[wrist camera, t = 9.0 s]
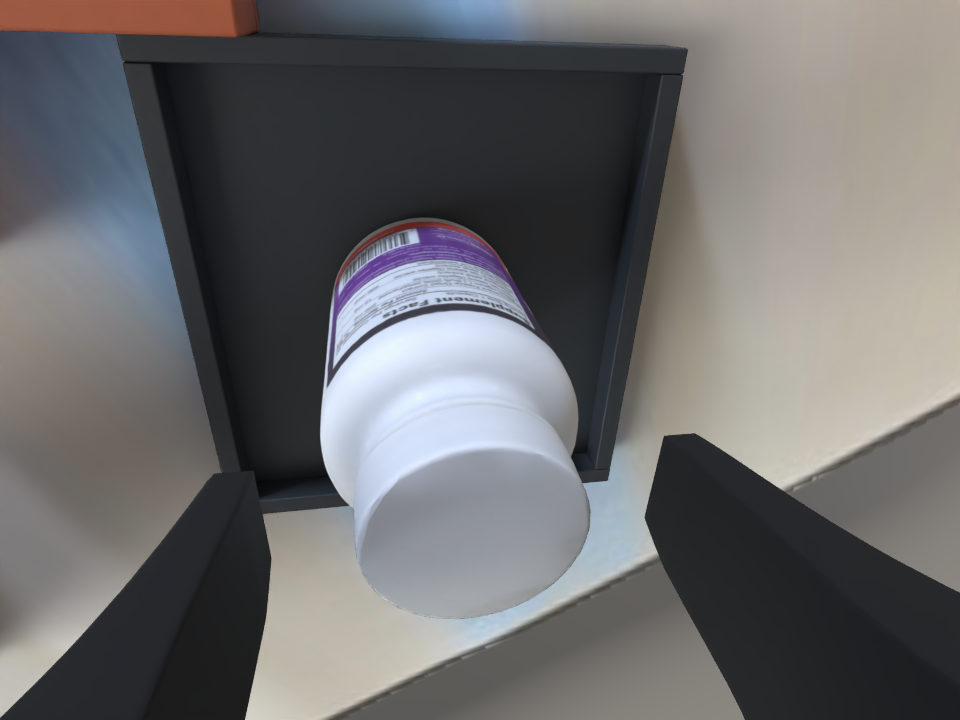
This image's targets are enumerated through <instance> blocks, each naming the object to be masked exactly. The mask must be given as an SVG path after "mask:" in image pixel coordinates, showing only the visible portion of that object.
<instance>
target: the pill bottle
mask: <svg viewBox="0 0 960 720" xmlns="http://www.w3.org/2000/svg"><path fill="white" fill-rule="evenodd" d="M577 429H578V406H577V400H576V395H575V392H574V389H573V386H572V383H571V380H570V378H569V376H568V374H567V372H566V370H565V368H564V366H563V364H562V363H561V361H560V359H559V357H558V356H557V354H556V353H555V351H554V349H553V348H552V346H551V344H550V343H549V341H548V339H547V338H546V336H545V334H544V333H543V331H542V329H541V328H540V326H539V324H538V323H537V321H536V319H535V317H534V316H533V314H532V312H531V311H530V309H529V307H528V306H527V304H526V302H525V300H524V299H523V297H522V295H521V294H520V292H519V290H518V288H517V286H516V284H515V283H514V281H513V279H512V278H511V276H510V274H509V272H508V270H507V268H506V267H505V265H504V263H503V262H502V260H501V259H500V258H499V256H498V255H497V253H496V252H495V251H494V250H493V248H492V247H491V246H490V245H489V244H488V243H487V242H486V241H485V240H484V239H483V238H481V237H480V236H479V235H477V234H476V233H474V232H473V231H471V230H470V229H468V228H466V227H464V226H461V225H459V224H456V223H454V222H450V221H447V220H443V219H437V218H411V219H406V220H401V221H397V222H394V223H391V224H388V225H386V226H384V227H381V228H379V229H378V230H376V231H374V232H372V233H371V234H369V235H368V236H367V237H365V238H364V239H363V240H362V241H361V242H360V243H358V244H357V245H356V246H355V247H354V249H353V250H352V251H351V252H350V254H349V255H348V256H347V258H346V259H345V261H344V262H343V264H342V266H341V268H340V270H339V273H338V275H337V278H336V281H335V285H334V289H333V295H332V302H331V310H330V322H329V334H328V345H327V357H326V368H325V379H324V389H323V398H322V408H321V426H320V440H321V448H322V455H323V459H324V464H325V467H326V470H327V472H328V475H329V477H330V479H331V481H332V483H333V485H334V486H335V488H336V490H337V491H338V493H339V494H340V496H341V497H342V498H343V499H344V501H345V502H347V503H348V504H349V505H350V506H351V507H352V508H353V509H354V528H355V546H356V556H357V559H358V563H359V567H360V569H361V571H362V573H363V575H364V578H365V579H366V580H367V582H368V583H369V585H370V586H371V587H372V588H373V589H374V590H375V591H376V592H377V594H378V595H379V596H381V597H382V598H383V599H385V600H386V601H388V602H389V603H391V604H393V605H394V606H396V607H398V608H400V609H403V610H405V611H408V612H411V613H413V614H417V615H421V616H425V617H432V618H443V619H465V618H473V617H480V616H485V615H489V614H493V613H497V612H501V611H503V610H506V609H509V608H512V607H515V606H517V605H519V604H521V603H523V602H525V601H528V600H530V599H531V598H533V597H535V596H536V595H538V594H539V593H541V592H542V591H544V590H545V589H547V588H548V587H550V586H551V585H552V584H554V583H555V582H556V581H557V580H558V579H559V578H560V577H561V576H562V575H563V574H564V573H565V572H566V571H567V570H568V569H569V568H570V566H571V565H572V564H573V562H574V561H575V559H576V558H577V556H578V555H579V553H580V552H581V550H582V548H583V546H584V543H585V541H586V538H587V535H588V532H589V527H590V505H589V500H588V497H587V494H586V490H585V488H584V486H583V484H582V481H581V479H580V477H579V475H578V472H577V470H576V467H575V465H574V463H573V461H572V458H571V455H572V452H573V449H574V447H575V442H576V436H577Z"/></svg>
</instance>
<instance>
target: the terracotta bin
mask: <svg viewBox="0 0 960 720" xmlns="http://www.w3.org/2000/svg"><path fill="white" fill-rule="evenodd" d="M0 30H2V31H36V32H69V33H103V34H136V35H170V36H203V37H240V36H244V35H248V34H252V33H258V32H260V25H259V18H258V10H257V3H256V0H0Z"/></svg>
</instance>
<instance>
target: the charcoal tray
mask: <svg viewBox="0 0 960 720" xmlns="http://www.w3.org/2000/svg"><path fill="white" fill-rule="evenodd" d="M116 37H117V41H118V45H119V49H120V53H121V58H122V60H123V61H125V62H124V63H123V67H124V71H125V75H126V79H127V83H128V87H129V91H130V96H131V100H132V104H133V108H134V112H135V116H136V120H137V124H138V129H139V133H140V137H141V141H142V145H143V149H144V153H145V158H146V162H147V166H148V170H149V174H150V178H151V182H152V186H153V191H154V195H155V199H156V203H157V207H158V211H159V215H160V219H161V224H162V228H163V232H164V236H165V240H166V244H167V248H168V253H169V257H170V261H171V265H172V269H173V273H174V277H175V281H176V286H177V290H178V294H179V298H180V302H181V306H182V310H183V314H184V319H185V323H186V327H187V331H188V335H189V339H190V343H191V348H192V352H193V356H194V360H195V364H196V368H197V372H198V376H199V381H200V385H201V389H202V393H203V397H204V401H205V405H206V409H207V414H208V418H209V422H210V426H211V430H212V434H213V438H214V443H215V447H216V451H217V455H218V459H219V463H220V467H221V471H222V473H230V472H242V471H254V476H255V480H256V485H257V490H258V495H259V500H260V505H261V510H262V514H267V513H277V512H288V511H298V510H309V509H319V508H329V507H340V506H350V505H349V504H348V503H347V502H345V501H344V499H343V498H342V497H341V496H340V494H339V493H338V491H337V490H336V488H335V486H334V485H333V483H332V481H331V479H330V477H329V475H328V472H327V470H326V467H325V464H324V459H323V455H322V448H321V440H320V426H321V408H322V398H323V389H324V379H325V368H326V357H327V345H328V334H329V322H330V310H331V302H332V295H333V289H334V285H335V281H336V278H337V275H338V273H339V270H340V268H341V266H342V264H343V262H344V261H345V259H346V258H347V256H348V255H349V254H350V252H351V251H352V250H353V249H354V247H355V246H356V245H357V244H358V243H360V242H361V241H362V240H363V239H364V238H365V237H367V236H368V235H369V234H371V233H372V232H374V231H376V230H378V229H379V228H381V227H384V226H386V225H388V224H391V223H394V222H397V221H401V220H406V219H411V218H437V219H443V220H447V221H450V222H454V223H456V224H459V225H461V226H464V227H466V228H468V229H470V230H471V231H473V232H474V233H476V234H477V235H479V236H480V237H481V238H483V239H484V240H485V241H486V242H487V243H488V244H489V245H490V246H491V247H492V248H493V250H494V251H495V252H496V253H497V255H498V256H499V258H500V259H501V260H502V262H503V263H504V265H505V267H506V268H507V270H508V272H509V274H510V276H511V278H512V279H513V281H514V283H515V284H516V286H517V288H518V290H519V292H520V294H521V295H522V297H523V299H524V300H525V302H526V304H527V306H528V307H529V309H530V311H531V312H532V314H533V316H534V317H535V319H536V321H537V323H538V324H539V326H540V328H541V329H542V331H543V333H544V334H545V336H546V338H547V339H548V341H549V343H550V344H551V346H552V348H553V349H554V351H555V353H556V354H557V356H558V357H559V359H560V361H561V363H562V364H563V366H564V368H565V370H566V372H567V374H568V376H569V378H570V380H571V383H572V386H573V389H574V392H575V395H576V400H577V406H578V429H577V436H576V442H575V447H574V449H573V452H572V455H571V458H572V461H573V463H574V465H575V467H576V470H577V472H578V475H579V477H580V479H581V481H582V483H589V482H600V481H607V480H608V476H609V471H610V465H611V460H612V455H613V449H614V444H615V439H616V433H617V428H618V422H619V417H620V412H621V406H622V401H623V396H624V390H625V385H626V380H627V374H628V369H629V363H630V358H631V353H632V347H633V342H634V337H635V331H636V326H637V321H638V315H639V310H640V304H641V299H642V294H643V288H644V283H645V278H646V272H647V267H648V262H649V256H650V251H651V245H652V240H653V235H654V229H655V224H656V219H657V213H658V208H659V203H660V197H661V192H662V186H663V181H664V176H665V170H666V165H667V160H668V154H669V149H670V144H671V138H672V133H673V127H674V122H675V117H676V111H677V106H678V101H679V95H680V90H681V85H682V79H683V75H681V74H683V72H684V68H685V63H686V57H687V52H688V49H687V48H682V47H674V46H666V45H641V44H609V43H577V42H545V41H513V40H481V39H449V38H417V37H385V36H353V35H321V34H289V33H252V34H248V35H244V36H240V37H203V36H170V35H136V34H116Z"/></svg>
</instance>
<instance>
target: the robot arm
mask: <svg viewBox="0 0 960 720" xmlns="http://www.w3.org/2000/svg"><path fill="white" fill-rule="evenodd" d="M645 520H646V523H647V526H648V528H649V531H650V534H651V536H652V539H653V542H654V544H655V547H656V549H657V552H658V554H659V557H660V559H661V562H662V564H663V566H664V569H665V571H666V572H667V574H668V576H669V578H670V580H671V582H672V584H673V586H674V587H675V589H676V591H677V593H678V595H679V597H680V599H681V600H682V602H683V604H684V606H685V608H686V610H687V611H688V613H689V615H690V617H691V619H692V620H693V622H694V624H695V626H696V628H697V629H698V631H699V633H700V635H701V637H702V639H703V640H704V642H705V644H706V645H707V647H708V649H709V651H710V652H711V655H712V657H713V658H714V660H715V662H716V664H717V666H718V667H719V669H720V671H721V673H722V675H723V677H724V678H725V680H726V682H727V684H728V686H729V688H730V690H731V692H732V694H733V696H734V698H735V700H736V702H737V703H738V705H739V708H740V710H741V712H742V714H743V716H744V719H745V720H960V593H959V592H957V591H955V590H953V589H951V588H949V587H947V586H945V585H943V584H941V583H939V582H938V581H936V580H934V579H932V578H930V577H928V576H926V575H924V574H922V573H920V572H918V571H916V570H915V569H913V568H911V567H909V566H906V565H905V564H903V563H901V562H899V561H897V560H896V559H894V558H892V557H890V556H888V555H887V554H885V553H883V552H881V551H879V550H878V549H876V548H874V547H872V546H871V545H869V544H867V543H866V542H864V541H862V540H861V539H859V538H857V537H855V536H854V535H852V534H850V533H849V532H847V531H846V530H844V529H842V528H840V527H839V526H837V525H836V524H834V523H832V522H830V521H829V520H827V519H826V518H824V517H823V516H821V515H819V514H818V513H816V512H815V511H813V510H811V509H810V508H808V507H807V506H805V505H804V504H802V503H800V502H799V501H798V500H796V499H794V498H793V497H791V496H790V495H788V494H787V493H785V492H784V491H782V490H781V489H779V488H778V487H776V486H775V485H773V484H772V483H770V482H769V481H767V480H766V479H764V478H763V477H761V476H760V475H758V474H757V473H755V472H754V471H752V470H751V469H749V468H748V467H746V466H745V465H743V464H742V463H740V462H739V461H737V460H736V459H735V458H733V457H732V456H730V455H728V454H727V453H725V452H724V451H722V450H721V449H719V448H718V447H716V446H715V445H713V444H712V443H710V442H708V441H707V440H705V439H704V438H702V437H700V436H699V435H697V434H695V433H692V434H681V435H669V436H664V438H663V442H662V446H661V451H660V455H659V459H658V463H657V467H656V472H655V476H654V480H653V484H652V488H651V493H650V497H649V501H648V505H647V509H646V513H645ZM270 569H271V554H270V549H269V544H268V539H267V534H266V529H265V524H264V520H263V515H262V510H261V505H260V500H259V495H258V490H257V485H256V480H255V476H254V471H242V472H230V473H218V474H214V475H213V476H212V477H211V478H210V479H209V480H208V481H207V482H206V484H205V485H204V486H203V488H202V489H201V490H200V492H199V493H198V494H197V496H196V497H195V498H194V500H193V501H192V502H191V504H190V505H189V506H188V508H187V509H186V510H185V512H184V513H183V514H182V516H181V517H180V518H179V520H178V521H177V522H176V524H175V525H174V526H173V527H172V529H171V530H170V531H169V533H168V534H167V535H166V536H165V538H164V539H163V540H162V542H161V543H160V544H159V545H158V547H157V548H156V549H155V550H154V552H153V553H152V554H151V555H150V556H149V558H148V559H147V560H146V561H145V563H144V564H143V565H142V566H141V567H140V569H139V570H138V571H137V572H136V574H135V575H134V576H133V577H132V579H131V580H130V581H129V582H128V583H127V585H126V586H125V587H124V588H123V589H122V590H121V592H120V593H119V594H118V595H117V596H116V597H115V598H114V599H113V601H112V602H111V603H110V604H109V605H108V606H107V607H106V608H105V610H104V611H103V612H102V613H101V614H100V615H99V616H98V617H97V619H96V620H95V621H94V622H93V623H92V624H91V625H90V626H89V628H88V629H87V630H86V631H85V632H84V633H83V634H82V635H81V637H80V638H79V639H78V640H77V641H76V642H75V643H74V644H73V645H72V646H71V647H70V648H69V649H68V650H67V651H66V653H65V654H64V655H63V656H62V657H61V658H60V659H59V660H58V661H57V662H56V663H55V664H54V665H53V666H52V667H51V668H50V669H49V670H48V671H47V672H46V673H45V674H44V675H43V676H42V677H41V678H40V679H39V680H38V681H37V682H36V683H35V684H34V685H33V686H32V687H31V688H30V689H29V690H28V691H27V692H26V693H25V694H24V695H23V696H22V697H21V698H20V699H19V700H18V701H17V702H16V703H15V704H14V705H13V706H12V707H11V708H10V709H9V710H8V711H7V712H6V713H5V714H4V715H3V716H2V717H1V718H0V720H245V717H246V712H247V707H248V703H249V698H250V693H251V688H252V684H253V679H254V674H255V669H256V665H257V660H258V655H259V650H260V645H261V640H262V635H263V630H264V625H265V620H266V613H267V603H268V593H269V581H270Z"/></svg>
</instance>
